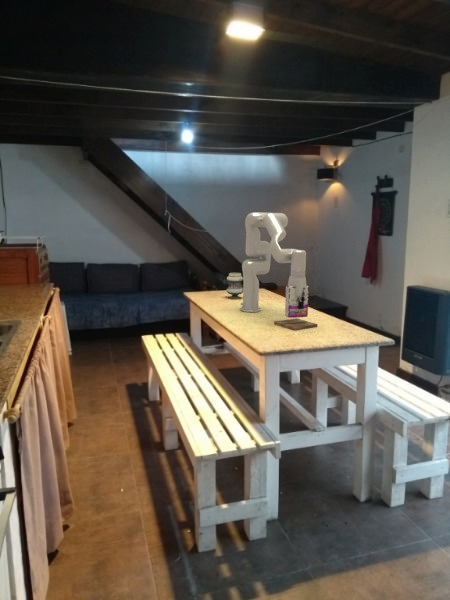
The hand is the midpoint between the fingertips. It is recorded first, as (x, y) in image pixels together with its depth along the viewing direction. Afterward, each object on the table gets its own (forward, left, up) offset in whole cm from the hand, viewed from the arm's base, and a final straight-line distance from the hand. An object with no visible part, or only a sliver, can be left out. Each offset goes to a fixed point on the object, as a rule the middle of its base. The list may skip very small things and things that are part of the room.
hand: (296, 307), depth 232 cm
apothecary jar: (-84, +19, -10) cm, 87 cm away
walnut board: (0, 0, -10) cm, 10 cm away
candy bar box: (0, 0, -5) cm, 5 cm away
